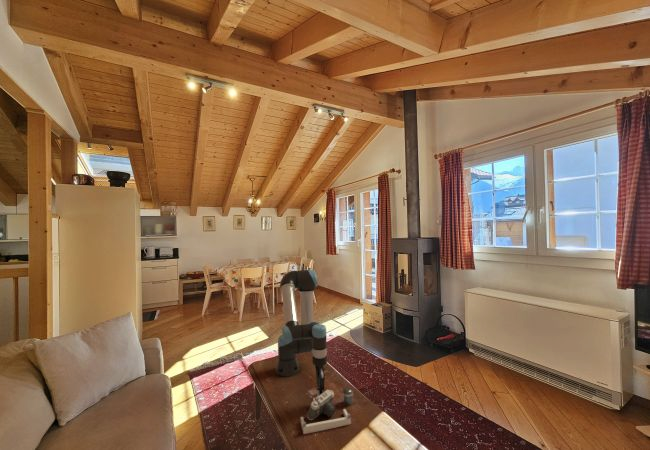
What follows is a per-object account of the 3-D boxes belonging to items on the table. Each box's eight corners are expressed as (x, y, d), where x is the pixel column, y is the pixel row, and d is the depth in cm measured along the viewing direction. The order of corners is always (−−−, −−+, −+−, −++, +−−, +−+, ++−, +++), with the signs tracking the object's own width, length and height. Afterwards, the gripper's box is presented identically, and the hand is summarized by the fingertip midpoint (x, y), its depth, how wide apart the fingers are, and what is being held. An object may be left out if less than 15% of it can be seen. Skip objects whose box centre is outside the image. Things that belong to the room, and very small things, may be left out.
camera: (304, 415, 136) (309, 398, 133) (325, 399, 148) (330, 383, 146) (317, 430, 130) (323, 413, 128) (338, 412, 143) (344, 396, 140)
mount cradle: (300, 422, 134) (300, 412, 134) (345, 413, 139) (345, 404, 139) (303, 434, 126) (303, 424, 126) (350, 424, 131) (350, 415, 131)
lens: (341, 401, 149) (341, 388, 149) (351, 399, 150) (351, 386, 150) (344, 407, 144) (344, 393, 144) (354, 405, 145) (354, 392, 145)
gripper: (310, 351, 153) (311, 394, 152) (315, 362, 140) (316, 409, 140) (323, 349, 155) (324, 392, 154) (329, 360, 142) (330, 407, 142)
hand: (320, 400), depth 147 cm, fingers closed
